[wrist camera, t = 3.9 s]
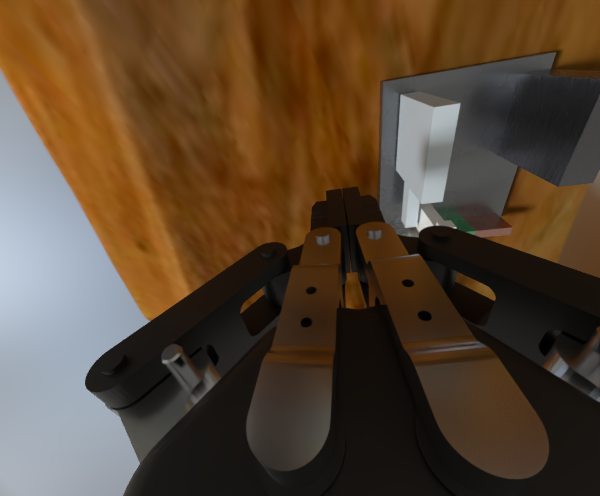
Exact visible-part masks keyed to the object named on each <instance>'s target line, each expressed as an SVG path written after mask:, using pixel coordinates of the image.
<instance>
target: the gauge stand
mask: <svg viewBox="0 0 600 496" xmlns="http://www.w3.org/2000/svg"><path fill="white" fill-rule="evenodd" d="M555 55H556V52H546V53H540V54H535V55H529V56H523V57H517V58H512V59H506V60H500V61H494V62H489V63H483V64H477V65H471V66H466V67H460V68H454V69H448V70H443V71H437V72H431V73H425V74H420V75H414V76H408V77H402V78H396V79H391V80H385V81H381V83H380V126H379V169H378V206H379V208H380V210H381V212H382V215H383V217H384V220H385V222H386V223H387V224H389V225H391V226H392V227H393V228H394V230H395V232H396V233H397V234H398V235H402V236H410V237H418V236H419V231H418V230H417V228H416V227H408V228H405V226H404V224H403V223H402V221H401V217H402V205H403V194H404V182H405V181H404V180H403V179H402V177H401V176H400V175H399V173H398V172H397V171H396V161H397V145H398V129H399V113H400V98H401V94H406V93H412V92H418V91H420V92H424V93H427V94H431V95H434V96H438V97H441V98H445V99H448V100H451V101H455V102H458V103H461V104H460V109H459V115H458V120H457V126H456V131H455V137H454V142H453V148H452V153H451V158H450V164H449V169H448V175H447V180H446V186H445V191H444V197H443V202H436V203H430V204H431V205H432V206H433V207H434V209H435V210H436V211H437V212H438V214H439V215H440V216H441V217H442V219H443V220H444V221H448V220H451V221H452V222H453V224H454V225H455V226H456V229H458V230H461V231H464V232H467V233H470V234H473V235H476V236H479V237H490V236H501V235H510V234H511V231H512V228H513V227H512V226H511V225H509V224H508V223H507V222H506V221H505V220H504V219H502V218H501V215H502V212H503V209H504V206H505V203H506V200H507V197H508V194H509V191H510V188H511V185H512V182H513V179H514V176H515V173H516V170H517V167H518V166H519V167H521V168H523V169H525V170H527V171H529V172H531V173H533V174H535V175H536V176H538V177H540V178H542V179H544V180H546V181H548V182H550V183H552V184H554V185H556V186H558V187H560V186H569V185H578V184H587V183H593V181H594V179H595V178H596V176H597V174H598V172H599V170H600V70H568V69H551V67H552V64H553V61H554V58H555Z"/></svg>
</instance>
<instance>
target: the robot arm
mask: <svg viewBox="0 0 600 496" xmlns="http://www.w3.org/2000/svg"><path fill="white" fill-rule="evenodd" d="M342 192H343V198H342ZM326 198H327V201H320V202H316V203H315V204H314V206H313V207H312V215H311V230H310V232H309V233H308V234H307V235H306V237H305V241H304V244H303V245H301V246H299V247H296V248H293V249H290V250H287V248H286V246H285V245H284V244H282V243H278V242H271V243H266V244H263V245H261V246H259V247H257V248H256V249H255V250H253V251H252V252H250V253H249V254H247V255H246V256H244V257H243V258H242V259H240V260H239V261H237V262H236V263H234V264H233V265H231V266H230V267H228V268H227V269H226V270H224V271H223V272H221V273H220V274H218V275H217V276H215V277H214V278H213V279H211V280H210V281H208V282H207V283H205V284H204V285H202V286H201V287H200V288H198V289H197V290H195V291H194V292H192V293H191V294H189V295H188V296H187V297H185V298H184V299H182V300H181V301H179V302H178V303H176V304H175V305H174V306H172V307H171V308H169V309H168V310H166V311H165V312H163V313H162V314H161V315H159V316H158V317H156V318H155V319H153V320H152V321H150V322H149V323H148V324H146V325H145V326H143V327H142V328H140V329H139V330H137V331H136V332H135V333H133V334H132V335H130V336H129V337H127V338H126V339H124V340H123V341H122V342H120V343H119V344H117V345H116V346H114V347H113V348H111V349H110V350H109V351H107V352H106V353H104V354H103V355H102V356H101V357H100V358H99V359H98V360H97V361H96V362H95V363H94V364H93V366H92V367H91V369H90V370H89V372H88V374H87V376H86V380H85V385H86V388H87V389H88V390H89V391H90V392H91V393H93V394H94V395H96V397H98V398H99V399H100V400H102V401H103V402H104V403H105V405H106V406H107V408H109V409H110V410H111V411H113V412H114V413H115V414H117V415H118V416H119V417H120V418H121V420H122V423H123V425H124V427H125V430H126V432H127V434H128V436H129V439H130V441H131V444H132V446H133V448H134V450H135V453H136V455H137V457H138V460H139V462H140V465H139V467H138V468H137V470H136V471H135V473H134V475H133V477H132V478H131V480H130V482H129V484H128V486H127V488H126V490H125V493H124V495H123V496H600V278H598V277H595V276H592V275H589V274H586V273H583V272H581V271H578V270H574V269H572V268H569V267H566V266H563V265H560V264H557V263H554V262H551V261H549V260H546V259H543V258H540V257H537V256H534V255H531V254H528V253H525V252H522V251H519V250H516V249H514V248H511V247H508V246H505V245H502V244H499V243H496V242H493V241H490V240H487V239H484V238H481V237H479V236H476V235H473V234H470V233H467V232H464V231H461V230H458V229H455V228H452V227H448V226H440V225H437V226H429V227H426V228H424V229H422V230H421V231H420V232H419V236H418V237H410V236H402V235H398V234H397V233H396V232H395V230H394V228H393V227H392V226H391V225H389V224H387V223H386V222H385V220H384V217H383V215H382V212H381V210H380V208H379V206H378V203H377V200H376V199H375V198H373V197H372V196H370V195H366V196H360V193H359V190H358V187H350V188H343V189H342V191H341V189H336V190H328V191H326ZM349 255H350V260H349ZM350 262H351V268H352V272H358V282H359V289H360V292H361V296H362V300H363V303H364V307H365V309H361V310H357V309H349V308H346V283H345V282H346V280H347V275H346V273H350ZM457 272H459V273H461V274H463V275H465V276H468V277H470V278H472V279H474V280H476V281H478V282H481V283H483V284H485V285H487V286H488V287H490V288H491V289H492V290H493V292H494V293H495V296H496V300H495V301H493V300H491V299H489V298H487V297H485V296H483V295H481V294H479V293H477V292H475V291H473V290H471V289H469V288H467V287H465V286H463V285H461V284H459V283H457V282H455V280H456V276H457ZM261 288H262V289H263V292H264V295H263V296H261V297H260V298H259V299H258V300H257V301H256V302H254V303H253V304H252V305H251V306H250V307H248V308H247V309H246V310H245V311H244V312H242V313H241V314H240V310H241V307H242V305H243V303H244V302H245V301H246V300H248V299H249V298H250V297H251V296H252V295H254V294H255V293H256V292H257V291H259V290H260V289H261Z"/></svg>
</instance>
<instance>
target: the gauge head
mask: <svg viewBox="0 0 600 496" xmlns="http://www.w3.org/2000/svg"><path fill="white" fill-rule="evenodd" d="M460 104H461V103H458V102H455V101H451V100H448V99H445V98H441V97H438V96H434V95H431V94H427V93H424V92H420V91H418V92H412V93H406V94H401V98H400V113H399V129H398V145H397V161H396V171H397V172H398V173H399V175H400V176H401V177H402V179H403V180H404V181H405V182H404V194H403V205H402V217H401V221H402V223H403V224H404V226H405V228H408V227H417V220H418V212H419V204H420V203H421V204H427V203H436V202H443V197H444V191H445V186H446V180H447V175H448V169H449V164H450V158H451V153H452V148H453V142H454V137H455V131H456V126H457V120H458V115H459V109H460Z"/></svg>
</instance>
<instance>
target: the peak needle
mask: <svg viewBox="0 0 600 496" xmlns="http://www.w3.org/2000/svg"><path fill="white" fill-rule="evenodd" d="M437 225H440V226H448V227H452V228H455V229H456V226H455V225H454V224H453V222H452V221H451V220H448V221H444V220H443V219H442V217H441V216H440V215H439V214H438V212H437V211H436V210H435V209H434V207H433V206H432V205H431V204H430V203H427V204H421V203H420V204H419V212H418V220H417V227H416V228H417V230H418V231H419V232H420V231H421V230H422V229H424V228H426V227H429V226H437Z"/></svg>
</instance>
